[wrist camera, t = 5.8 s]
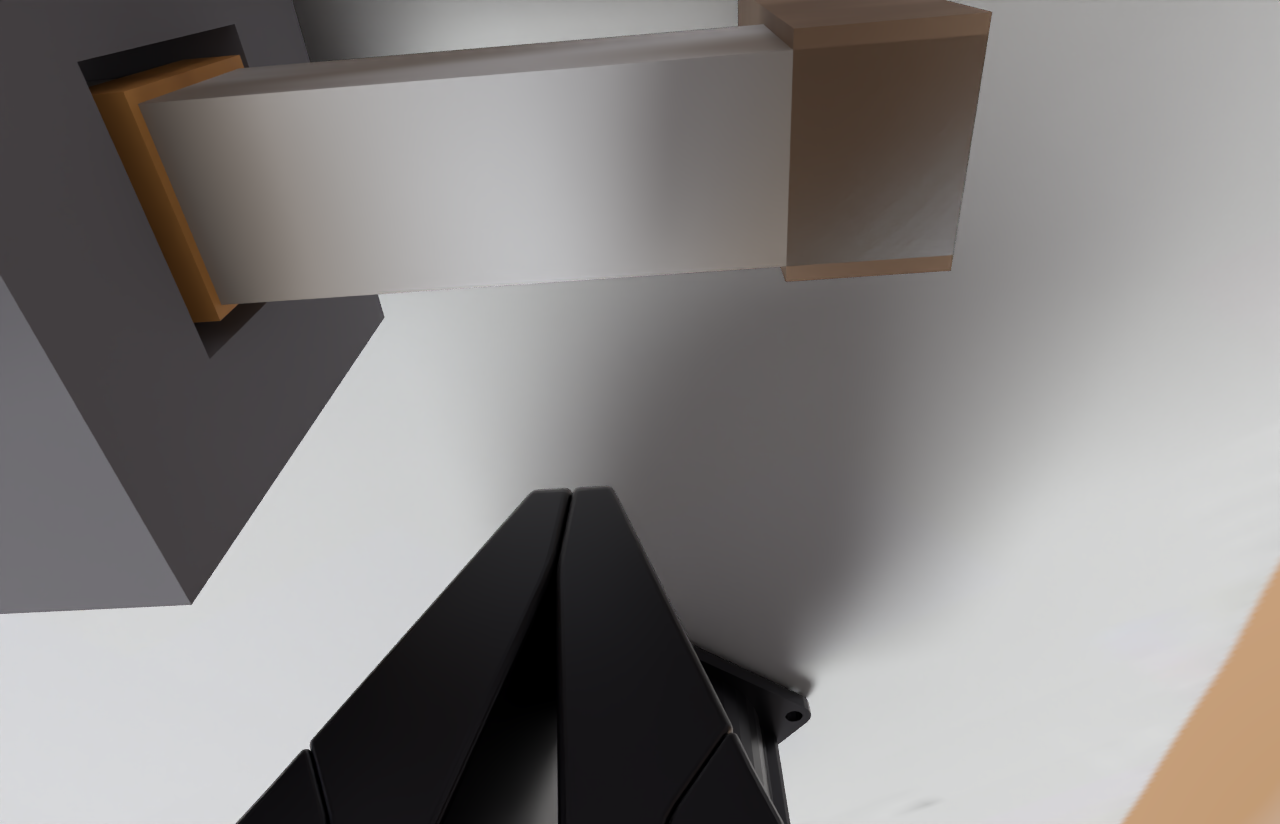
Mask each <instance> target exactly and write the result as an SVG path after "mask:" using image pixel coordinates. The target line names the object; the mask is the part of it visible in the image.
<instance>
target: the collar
mask: <svg viewBox="0 0 1280 824" xmlns="http://www.w3.org/2000/svg"><path fill="white" fill-rule="evenodd" d="M231 55H240V57H241V60H242V63H243V66H244V68H250V67H262V66H274V65H286V64H298V63H310V60H309V56H308V53H307V49H306V46H305V42H304V39H303V35H302V32H301V29H300V25H299V22H298V18H297V15H296V11H295V8H294V4H293V1H292V0H0V614H8V613H29V612H50V611H71V610H92V609H113V608H134V607H154V606H175V605H192V603H193V602H194V600H195V599H196V597H197V596H198V594H199V593H200V591H201V590H202V588H203V587H204V585H205V584H206V582H207V581H208V579H209V578H210V576H211V575H212V573H213V572H214V570H215V569H216V567H217V566H218V564H219V563H220V561H221V560H222V558H223V557H224V555H225V554H226V552H227V551H228V549H229V548H230V546H231V545H232V543H233V542H234V541H235V539H236V538H237V536H238V535H239V533H240V532H241V530H242V529H243V527H244V526H245V524H246V523H247V521H248V520H249V518H250V517H251V515H252V514H253V512H254V511H255V509H256V508H257V506H258V505H259V503H260V502H261V500H262V499H263V497H264V496H265V494H266V493H267V491H268V490H269V488H270V487H271V485H272V484H273V482H274V481H275V479H276V478H277V476H278V475H279V473H280V472H281V471H282V469H283V468H284V466H285V465H286V463H287V462H288V460H289V459H290V457H291V456H292V454H293V453H294V451H295V450H296V448H297V447H298V445H299V444H300V442H301V441H302V439H303V438H304V436H305V435H306V433H307V432H308V430H309V429H310V427H311V426H312V424H313V423H314V421H315V420H316V418H317V417H318V415H319V414H320V412H321V411H322V409H323V408H324V406H325V405H326V403H327V402H328V401H329V399H330V398H331V396H332V395H333V393H334V392H335V390H336V389H337V387H338V386H339V384H340V383H341V381H342V380H343V378H344V377H345V375H346V374H347V372H348V371H349V369H350V368H351V366H352V365H353V363H354V362H355V360H356V359H357V357H358V356H359V354H360V353H361V351H362V350H363V348H364V347H365V345H366V344H367V342H368V341H369V339H370V338H371V336H372V335H373V333H374V332H375V331H376V329H377V328H378V326H379V325H380V323H381V322H382V320H383V319H384V314H383V311H382V308H381V304H380V301H379V297H378V294H375V295H360V296H345V297H331V298H316V299H301V300H287V301H272V302H257V303H243V304H238V305H237V306H236V307H235V308H234V309H233V310H232V311H231V312H229V313H228V314H227V315H226V316H225V317H224V318H223V319H222V320H221V321H212V322H197V323H193V321H192V318H191V316H190V314H189V312H188V309H187V307H186V305H185V303H184V300H183V298H182V296H181V294H180V292H179V289H178V287H177V285H176V283H175V280H174V278H173V276H172V274H171V271H170V269H169V267H168V265H167V262H166V260H165V258H164V256H163V253H162V251H161V249H160V247H159V244H158V242H157V240H156V238H155V235H154V233H153V231H152V229H151V226H150V224H149V222H148V220H147V218H146V215H145V213H144V211H143V209H142V206H141V204H140V202H139V200H138V197H137V195H136V193H135V191H134V188H133V186H132V184H131V182H130V179H129V177H128V175H127V173H126V170H125V168H124V166H123V164H122V161H121V159H120V157H119V155H118V152H117V150H116V148H115V146H114V144H113V141H112V139H111V137H110V135H109V132H108V130H107V128H106V126H105V123H104V121H103V119H102V117H101V114H100V112H99V110H98V108H97V105H96V103H95V101H94V99H93V96H92V94H91V92H90V90H89V87H88V85H87V83H86V81H96V80H108V79H118V78H121V77H125V76H128V75H132V74H135V73H139V72H142V71H146V70H149V69H152V68H156V67H159V66H163V65H166V64H170V63H173V62H177V61H180V60H184V59H196V58H208V57H220V56H231Z"/></svg>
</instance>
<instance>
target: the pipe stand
mask: <svg viewBox="0 0 1280 824" xmlns="http://www.w3.org/2000/svg"><path fill="white" fill-rule="evenodd" d="M991 16H992V12H990V11H986V10H982V9H978V8H974V7H970V6H966V5H962V4H958V3H955V2H951V1H947V0H738V26H737V27H725V28H713V29H702V30H690V31H678V32H666V33H654V34H642V35H630V36H618V37H607V38H595V39H583V40H571V41H559V42H547V43H535V44H524V45H512V46H500V47H488V48H476V49H464V50H452V51H440V52H429V53H417V54H405V55H393V56H381V57H369V58H357V59H345V60H334V61H322V62H310V63H298V64H286V65H274V66H262V67H250V68H244V66H243V63H242V60H241V57H240V55H231V56H220V57H208V58H196V59H184V60H180V61H177V62H173V63H170V64H166V65H163V66H159V67H156V68H152V69H149V70H146V71H142V72H139V73H135V74H132V75H128V76H125V77H121V78H118V79H108V80H96V81H86V83H87V85H88V87H89V90H90V92H91V94H92V96H93V99H94V101H95V103H96V105H97V108H98V110H99V112H100V114H101V117H102V119H103V121H104V123H105V126H106V128H107V130H108V132H109V135H110V137H111V139H112V141H113V144H114V146H115V148H116V150H117V152H118V155H119V157H120V159H121V161H122V164H123V166H124V168H125V170H126V173H127V175H128V177H129V179H130V182H131V184H132V186H133V188H134V191H135V193H136V195H137V197H138V200H139V202H140V204H141V206H142V209H143V211H144V213H145V215H146V218H147V220H148V222H149V224H150V226H151V229H152V231H153V233H154V235H155V238H156V240H157V242H158V244H159V247H160V249H161V251H162V253H163V256H164V258H165V260H166V262H167V265H168V267H169V269H170V271H171V274H172V276H173V278H174V280H175V283H176V285H177V287H178V289H179V292H180V294H181V296H182V298H183V300H184V303H185V305H186V307H187V309H188V312H189V314H190V316H191V318H192V321H193V323H197V322H212V321H221V320H222V319H223V318H224V317H225V316H226V315H227V314H228V313H229V312H231V311H232V310H233V309H234V308H235V307H236V306H237V305H238V304H243V303H257V302H272V301H287V300H301V299H316V298H331V297H345V296H360V295H375V294H389V293H404V292H419V291H433V290H448V289H463V288H477V287H492V286H507V285H521V284H536V283H551V282H565V281H580V280H595V279H609V278H624V277H639V276H653V275H668V274H683V273H697V272H712V271H727V270H741V269H756V268H771V267H780V268H781V271H782V273H783V276H784V278H785V281H786V282H789V281H804V280H818V279H833V278H848V277H863V276H878V275H893V274H908V273H923V272H937V271H951V266H952V260H953V254H954V247H955V241H956V235H957V228H958V222H959V216H960V210H961V203H962V197H963V191H964V185H965V178H966V172H967V166H968V160H969V153H970V147H971V141H972V135H973V128H974V122H975V116H976V109H977V103H978V97H979V91H980V84H981V78H982V72H983V66H984V59H985V53H986V47H987V41H988V34H989V28H990V22H991Z"/></svg>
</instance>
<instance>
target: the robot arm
mask: <svg viewBox="0 0 1280 824" xmlns="http://www.w3.org/2000/svg"><path fill="white" fill-rule="evenodd" d="M810 717H811V712H810V707H809V703H808V700H807V699H806V698H805V697H803V696H802V695H799V694H797V693H795V692H793V691H791V690H789V689H786V688H784V687H782V686H780V685H778V684H776V683H773V682H771V681H769V680H767V679H765V678H763V677H761V676H758V675H756V674H754V673H752V672H750V671H748V670H745V669H743V668H741V667H739V666H737V665H735V664H732V663H730V662H728V661H726V660H724V659H722V658H719V657H717V656H715V655H713V654H711V653H709V652H706V651H704V650H702V649H700V648H698V647H696V646H693V645H692V644H691V643H690V641H689V639H688V637H687V635H686V633H685V631H684V629H683V627H682V625H681V623H680V621H679V619H678V617H677V615H676V613H675V611H674V609H673V607H672V605H671V603H670V601H669V599H668V597H667V595H666V593H665V591H664V589H663V587H662V585H661V583H660V581H659V579H658V577H657V575H656V573H655V571H654V569H653V567H652V565H651V563H650V561H649V559H648V557H647V555H646V553H645V551H644V549H643V547H642V545H641V543H640V541H639V539H638V537H637V535H636V533H635V531H634V529H633V527H632V525H631V523H630V521H629V519H628V517H627V515H626V513H625V511H624V509H623V507H622V505H621V503H620V501H619V499H618V497H617V495H616V493H615V491H614V489H613V488H612V487H610V486H592V487H579V488H576V489H575V490H574V491H573V493H572V492H571V490H569V489H568V488H557V489H538V490H534V491H532V492H531V493H530V494H529V495H528V496H527V497H526V498H525V499H524V500H523V501H522V502H521V504H520V505H519V506H518V507H517V508H516V509H515V510H514V512H513V513H512V514H511V515H510V516H509V517H508V518H507V519H506V521H505V522H504V523H503V524H502V525H501V526H500V527H499V529H498V530H497V531H496V532H495V533H494V534H493V535H492V536H491V538H490V539H489V540H488V541H487V542H486V543H485V544H484V545H483V547H482V548H481V549H480V550H479V551H478V552H477V553H476V555H475V556H474V557H473V558H472V559H471V560H470V561H469V562H468V564H467V565H466V566H465V567H464V568H463V569H462V570H461V571H460V573H459V574H458V575H457V576H456V577H455V578H454V579H453V581H452V582H451V583H450V584H449V585H448V586H447V587H446V588H445V590H444V591H443V592H442V593H441V594H440V595H439V596H438V598H437V599H436V600H435V601H434V602H433V603H432V604H431V605H430V607H429V608H428V609H427V610H426V611H425V612H424V613H423V614H422V616H421V617H420V618H419V619H418V620H417V621H416V622H415V624H414V625H413V626H412V627H411V628H410V629H409V630H408V631H407V633H406V634H405V635H404V636H403V637H402V638H401V639H400V641H399V642H398V643H397V644H396V645H395V646H394V647H393V648H392V650H391V651H390V652H389V653H388V654H387V655H386V656H385V657H384V659H383V660H382V661H381V662H380V663H379V664H378V665H377V667H376V668H375V669H374V670H373V671H372V672H371V673H370V674H369V676H368V677H367V678H366V679H365V680H364V681H363V682H362V683H361V685H360V686H359V687H358V688H357V689H356V690H355V691H354V693H353V694H352V695H351V696H350V697H349V698H348V699H347V700H346V702H345V703H344V704H343V705H342V706H341V707H340V708H339V710H338V711H337V712H336V713H335V714H334V715H333V716H332V717H331V719H330V720H329V721H328V722H327V723H326V724H325V725H324V726H323V728H322V729H321V730H320V731H319V732H318V733H317V734H316V736H315V737H314V738H313V739H312V740H311V742H310V749H311V751H310V750H309V749H304V750H302V751H301V752H300V753H299V754H298V755H297V757H296V758H295V759H294V760H293V761H292V762H291V763H290V764H289V766H288V767H287V768H286V769H285V770H284V771H283V772H282V773H281V775H280V776H279V777H278V778H277V779H276V780H275V781H274V783H273V784H272V785H271V786H270V787H269V788H268V789H267V790H266V791H265V792H264V794H263V795H262V796H261V797H260V798H259V799H258V800H257V801H256V802H255V803H254V804H253V805H252V807H251V808H250V809H249V810H248V811H247V812H246V813H245V814H244V815H243V816H242V817H241V818H240V820H239V821H238V822H237V823H236V824H790V819H789V813H788V807H787V800H786V794H785V788H784V781H783V775H782V769H781V762H780V756H779V750H778V744H779V743H780V742H782V741H783V740H784V739H786V738H787V737H788V736H790V735H791V734H792V733H794V732H795V731H796V730H797V729H799V728H800V727H801V726H803V725H804V724H805V723H807V722H808V720H809V719H810Z"/></svg>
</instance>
